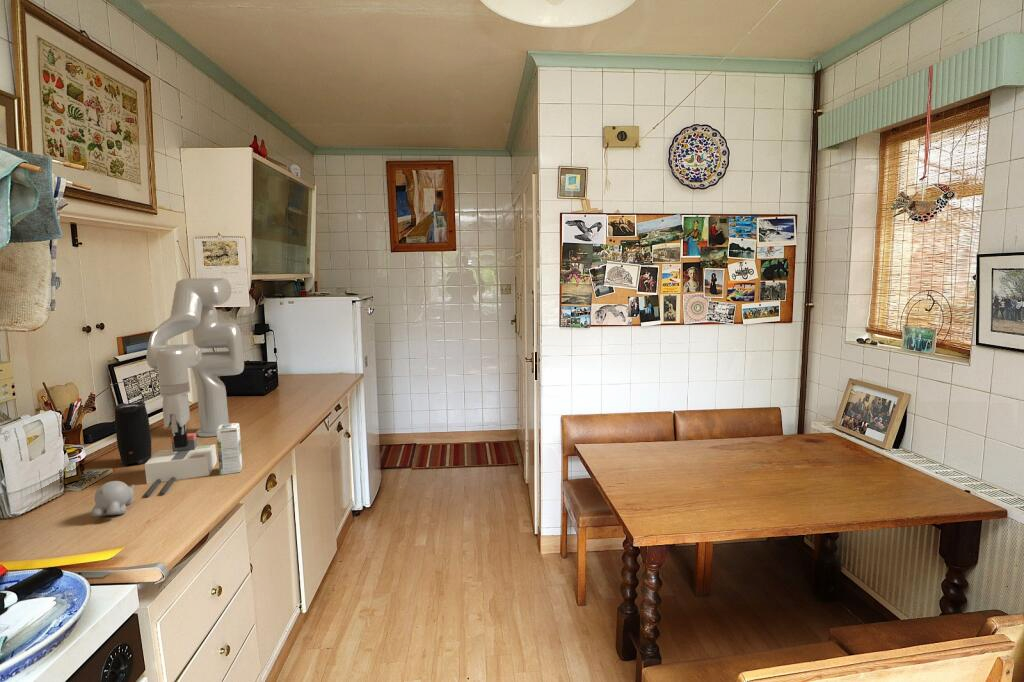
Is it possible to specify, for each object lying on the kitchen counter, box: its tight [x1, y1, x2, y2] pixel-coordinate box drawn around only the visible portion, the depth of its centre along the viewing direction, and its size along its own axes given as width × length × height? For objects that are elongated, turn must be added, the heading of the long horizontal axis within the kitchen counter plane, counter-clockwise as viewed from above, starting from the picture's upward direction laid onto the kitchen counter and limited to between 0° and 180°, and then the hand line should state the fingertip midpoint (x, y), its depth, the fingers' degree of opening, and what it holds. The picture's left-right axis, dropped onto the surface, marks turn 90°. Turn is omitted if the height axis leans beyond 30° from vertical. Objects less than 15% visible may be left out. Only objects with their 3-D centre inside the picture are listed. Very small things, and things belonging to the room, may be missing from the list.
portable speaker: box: [114, 401, 152, 467], centre depth 163 cm, size 9×9×20 cm
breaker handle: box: [170, 432, 198, 451], centre depth 158 cm, size 3×6×4 cm, turn 110°
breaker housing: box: [144, 443, 218, 485], centre depth 155 cm, size 12×16×6 cm
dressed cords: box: [144, 477, 176, 498], centre depth 143 cm, size 11×5×1 cm, turn 20°
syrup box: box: [216, 422, 243, 476], centre depth 155 cm, size 6×6×14 cm
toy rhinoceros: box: [90, 480, 135, 517], centre depth 130 cm, size 7×12×8 cm, turn 6°
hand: (181, 446), depth 155 cm, fingers closed
